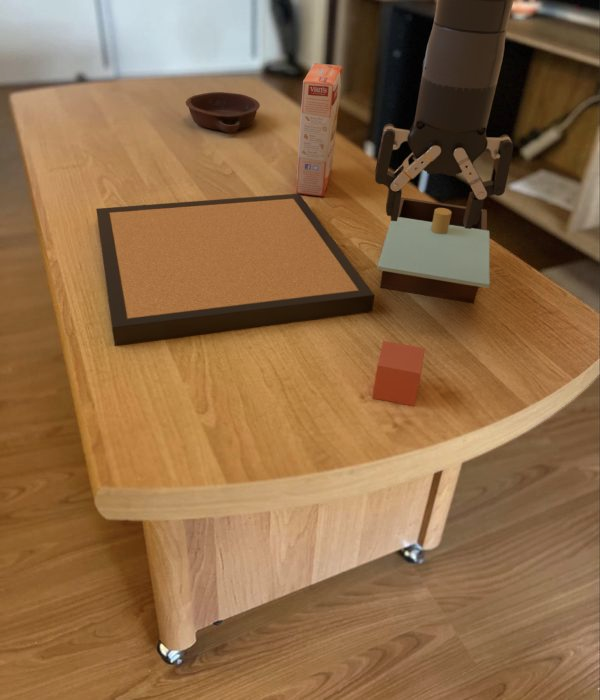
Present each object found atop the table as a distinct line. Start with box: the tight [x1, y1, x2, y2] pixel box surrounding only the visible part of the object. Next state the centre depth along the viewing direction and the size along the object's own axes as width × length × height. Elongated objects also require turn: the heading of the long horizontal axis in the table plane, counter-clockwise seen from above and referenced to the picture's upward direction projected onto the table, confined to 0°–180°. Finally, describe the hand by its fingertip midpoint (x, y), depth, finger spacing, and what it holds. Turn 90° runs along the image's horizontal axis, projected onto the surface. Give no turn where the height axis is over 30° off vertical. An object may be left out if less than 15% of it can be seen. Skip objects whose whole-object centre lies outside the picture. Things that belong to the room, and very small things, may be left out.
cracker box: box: [295, 62, 343, 198], centre depth 120 cm, size 14×6×21 cm, turn 171°
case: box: [379, 196, 488, 304], centre depth 98 cm, size 14×16×8 cm
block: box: [371, 340, 426, 407], centre depth 75 cm, size 5×5×5 cm
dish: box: [185, 91, 261, 134], centre depth 151 cm, size 18×22×5 cm
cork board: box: [95, 193, 375, 347], centre depth 97 cm, size 36×3×35 cm
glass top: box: [376, 208, 491, 289], centre depth 87 cm, size 14×16×4 cm
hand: (430, 222), depth 74 cm, fingers open, 8 cm apart
